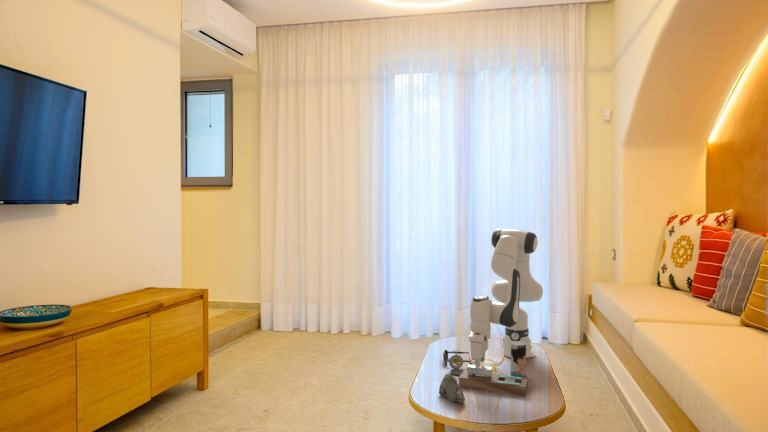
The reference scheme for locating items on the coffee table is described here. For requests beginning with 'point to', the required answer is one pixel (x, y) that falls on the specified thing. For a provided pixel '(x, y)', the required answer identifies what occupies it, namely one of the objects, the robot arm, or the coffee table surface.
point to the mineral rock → (451, 389)
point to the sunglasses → (445, 353)
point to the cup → (518, 359)
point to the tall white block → (480, 371)
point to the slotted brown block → (495, 383)
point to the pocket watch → (456, 367)
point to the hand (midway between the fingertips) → (480, 364)
